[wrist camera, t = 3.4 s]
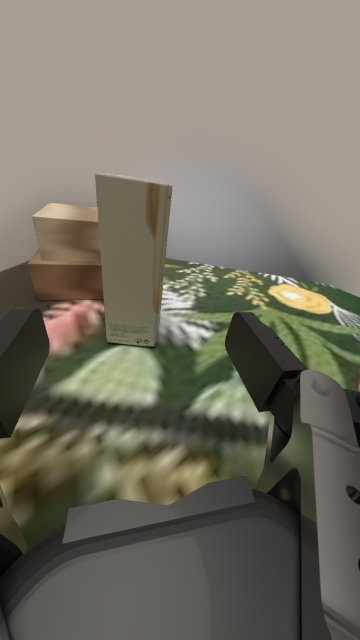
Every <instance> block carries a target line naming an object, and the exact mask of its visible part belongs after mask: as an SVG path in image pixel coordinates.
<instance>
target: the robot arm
mask: <svg viewBox="0 0 360 640" xmlns="http://www.w3.org/2000/svg"><path fill="white" fill-rule="evenodd" d="M225 347H226V351H227V353H228V355H229V356H230V358H231V360H232V362H233V364H234V366H235V368H236V370H237V372H238V374H239V375H240V377H241V379H242V381H243V383H244V385H245V387H246V389H247V391H248V392H249V394H250V396H251V398H252V400H253V402H254V404H255V406H256V408H257V410H258V411H259V412H265V411H271V413H272V414H273V416H272V418H271V419H270V425H269V433H268V440H267V448H266V456H265V463H264V468H263V471H262V474H261V476H260V478H259V481H258V484H257V488H256V490H255V489H252V488H250V485H249V482H248V480H247V477H246V476H243V477H237V478H232V479H226V480H221V481H216V482H210V483H207V484H206V485H204V486H202V487H200V488H199V489H197V490H195V491H193V492H192V493H190V494H188V495H186V496H184V497H183V498H181V499H179V500H177V501H176V502H174V503H172V504H170V505H157V504H150V503H143V502H136V501H129V500H122V499H117V500H111V501H106V502H100V503H95V504H89V505H84V506H78V507H73V508H69V511H68V516H67V522H66V523H64V524H63V525H61V526H59V527H57V528H56V529H54V530H53V531H51V532H50V533H48V534H47V535H45V536H44V537H43V538H41V539H40V540H39V541H38V542H36V543H35V544H34V545H33V546H31V547H30V548H29V549H28V548H27V545H26V543H25V540H24V537H23V535H22V533H21V531H20V529H19V527H18V525H17V523H16V521H15V520H14V518H13V516H12V514H11V512H10V510H9V508H8V505H7V502H6V499H5V496H4V494H3V491H2V488H1V485H0V640H360V392H356V391H352V390H347V389H343V388H342V387H341V386H340V385H339V383H337V382H336V381H335V380H334V379H332V378H331V377H329V376H328V375H326V374H324V373H322V372H319V371H315V370H308V369H307V368H306V367H305V366H304V365H303V364H302V363H301V361H300V360H299V359H298V358H297V357H296V356H295V355H294V354H293V352H292V351H291V350H290V349H289V348H288V347H287V346H285V343H284V342H283V341H282V340H281V339H279V337H278V336H277V334H276V333H275V332H274V331H273V330H272V329H271V328H269V327H268V326H266V325H265V324H263V323H262V322H261V321H260V320H259V319H258V318H257V317H256V315H255V314H254V313H252V312H236V313H234V315H233V317H232V320H231V323H230V326H229V329H228V332H227V335H226V339H225ZM48 353H49V338H48V335H47V331H46V327H45V324H44V320H43V317H42V313H41V311H40V310H39V309H38V308H13V309H11V310H10V312H9V313H8V314H7V315H6V316H5V317H4V318H3V320H2V321H0V438H9V437H11V435H12V433H13V431H14V428H15V426H16V424H17V422H18V420H19V417H20V415H21V413H22V411H23V409H24V407H25V404H26V402H27V400H28V398H29V396H30V393H31V391H32V389H33V387H34V385H35V383H36V380H37V378H38V376H39V374H40V372H41V369H42V367H43V365H44V363H45V361H46V359H47V356H48Z"/></svg>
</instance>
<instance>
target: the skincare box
mask: <svg viewBox="0 0 360 640" xmlns="http://www.w3.org/2000/svg"><path fill="white" fill-rule="evenodd" d="M95 180H96V196H97V210H98V225H99V239H100V253H101V266H102V281H103V295H104V309H105V324H106V339H107V342H112V343H121V344H130V345H140V346H152V347H154V346H155V343H156V339H157V334H158V328H159V321H160V310H161V300H162V289H163V278H164V268H165V257H166V246H167V235H168V226H169V215H170V206H171V195H172V185H168V184H164V183H160V182H155V181H151V180H146V179H140V178H135V177H129V176H122V175H117V174H107V173H95Z"/></svg>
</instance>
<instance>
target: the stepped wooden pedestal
mask: <svg viewBox="0 0 360 640" xmlns="http://www.w3.org/2000/svg"><path fill="white" fill-rule="evenodd" d="M32 218H33V223H34V227H35V231H36V236H37V240H38V244H39V250H37V252H36V253H35V255H34V256H33V257H32V259H31V260H30V261H29V263H28V266H29V270H30V274H31V277H32V281H33V284H34V288H35V292H36V295H37V299H38V301H49V300H86V299H104V295H103V281H102V266H101V253H100V239H99V225H98V210H97V208H94V207H84V206H75V205H65V204H55V203H49V204H48V205H47V206H45V207H44V208H43V209H41V210H40V211H39V212H37V213H36V214H34V215H33V216H32Z"/></svg>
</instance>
